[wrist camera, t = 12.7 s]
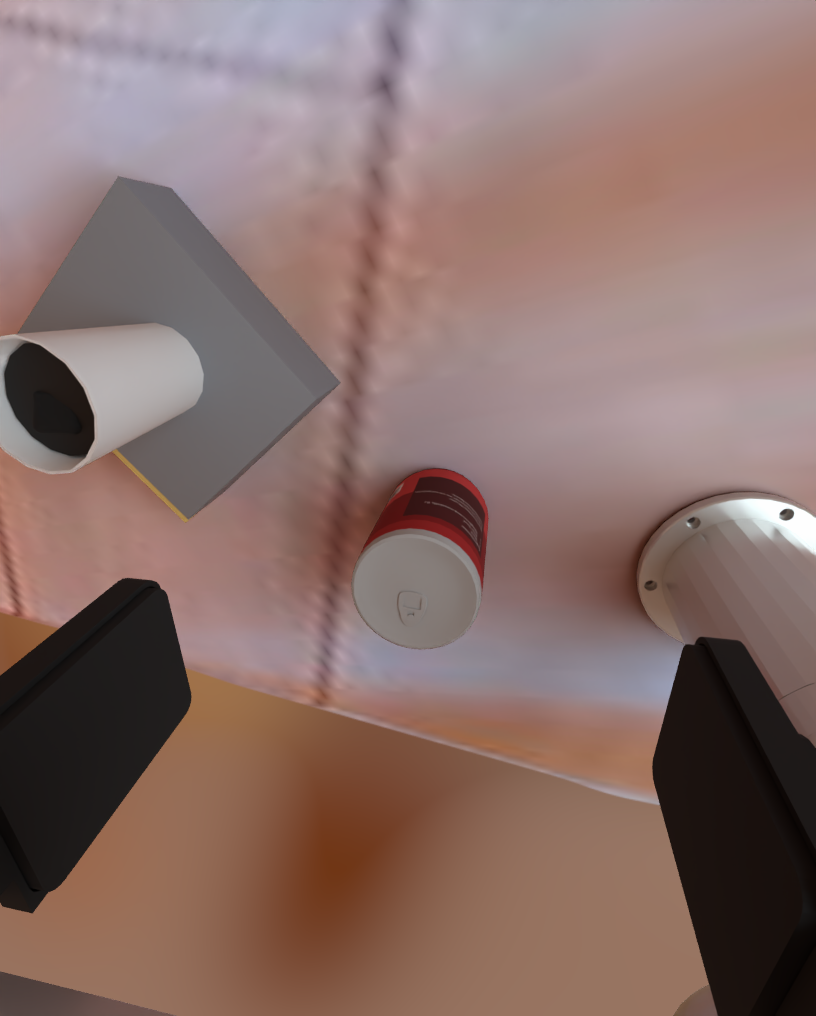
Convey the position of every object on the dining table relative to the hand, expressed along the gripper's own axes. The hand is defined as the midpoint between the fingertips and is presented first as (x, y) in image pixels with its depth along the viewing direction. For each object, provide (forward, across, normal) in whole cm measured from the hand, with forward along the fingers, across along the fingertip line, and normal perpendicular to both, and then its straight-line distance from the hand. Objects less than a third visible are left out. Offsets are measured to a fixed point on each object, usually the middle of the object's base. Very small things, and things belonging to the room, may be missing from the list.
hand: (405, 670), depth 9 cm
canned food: (+28, +3, +10) cm, 30 cm away
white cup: (+24, +20, -1) cm, 31 cm away
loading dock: (+28, +20, -1) cm, 35 cm away
